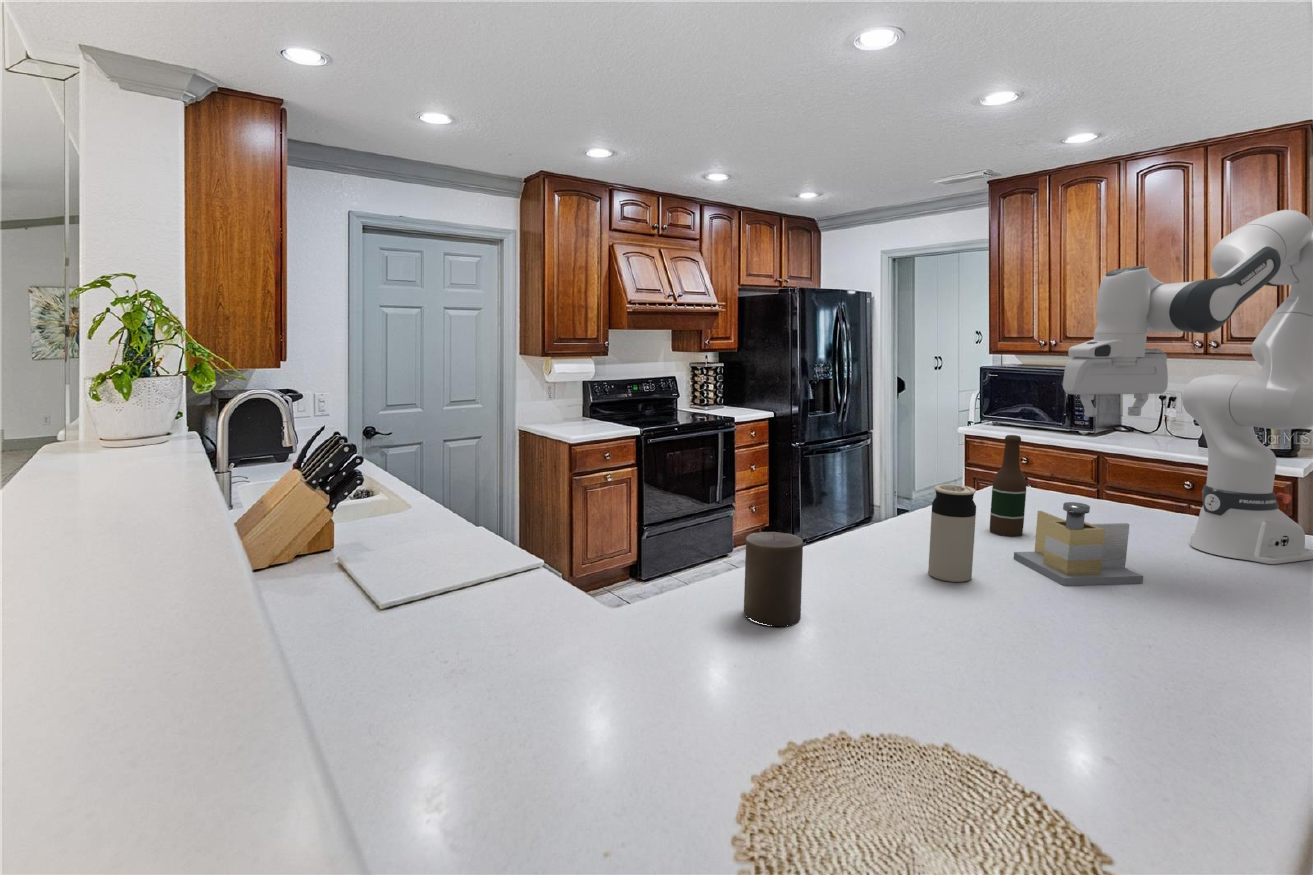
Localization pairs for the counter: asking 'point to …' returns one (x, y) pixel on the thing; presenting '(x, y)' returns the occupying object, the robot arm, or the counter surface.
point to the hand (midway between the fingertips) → (1112, 416)
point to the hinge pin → (1075, 514)
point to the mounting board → (1106, 576)
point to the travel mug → (952, 533)
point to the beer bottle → (1009, 493)
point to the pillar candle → (773, 578)
